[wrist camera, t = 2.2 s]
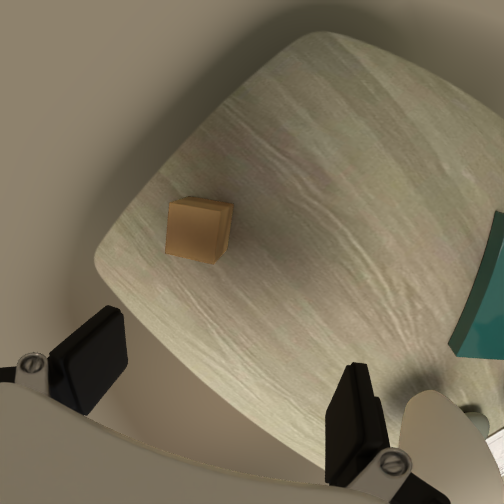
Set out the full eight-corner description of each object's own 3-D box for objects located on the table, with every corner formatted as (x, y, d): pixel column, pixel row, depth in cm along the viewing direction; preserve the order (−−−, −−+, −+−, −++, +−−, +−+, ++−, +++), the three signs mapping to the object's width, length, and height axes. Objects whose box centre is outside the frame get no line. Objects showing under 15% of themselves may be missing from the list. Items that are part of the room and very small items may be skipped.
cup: (421, 342, 28) (491, 504, 8) (465, 373, 28) (525, 501, 8) (361, 400, 31) (376, 558, 11) (410, 423, 32) (437, 552, 11)
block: (188, 195, 28) (169, 202, 23) (234, 203, 27) (221, 211, 23) (184, 240, 29) (164, 253, 25) (227, 249, 29) (213, 265, 24)
